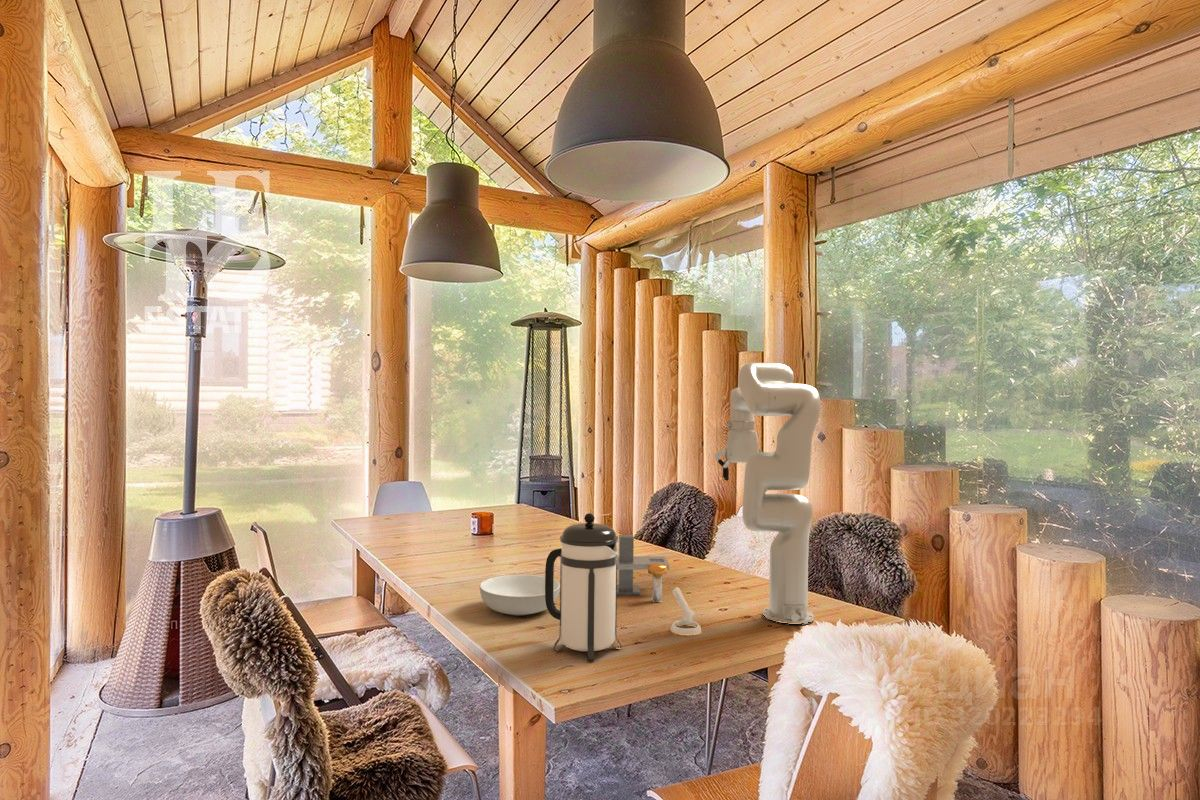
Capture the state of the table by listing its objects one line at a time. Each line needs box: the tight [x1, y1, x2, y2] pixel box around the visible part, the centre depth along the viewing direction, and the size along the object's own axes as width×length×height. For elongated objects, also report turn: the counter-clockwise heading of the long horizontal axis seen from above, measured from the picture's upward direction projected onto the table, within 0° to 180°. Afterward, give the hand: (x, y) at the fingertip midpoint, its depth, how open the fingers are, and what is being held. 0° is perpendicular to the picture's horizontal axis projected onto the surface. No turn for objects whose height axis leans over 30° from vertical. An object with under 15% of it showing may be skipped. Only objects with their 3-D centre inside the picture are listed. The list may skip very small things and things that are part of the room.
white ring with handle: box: [669, 586, 702, 634], centre depth 164 cm, size 8×12×7 cm
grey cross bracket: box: [617, 534, 670, 596], centre depth 196 cm, size 10×16×16 cm, turn 92°
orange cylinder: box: [647, 563, 668, 603], centre depth 186 cm, size 5×5×10 cm
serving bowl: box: [479, 573, 560, 616], centre depth 177 cm, size 21×21×7 cm
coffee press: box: [544, 512, 623, 662], centre depth 150 cm, size 17×16×30 cm
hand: (741, 480), depth 217 cm, fingers open, 9 cm apart
